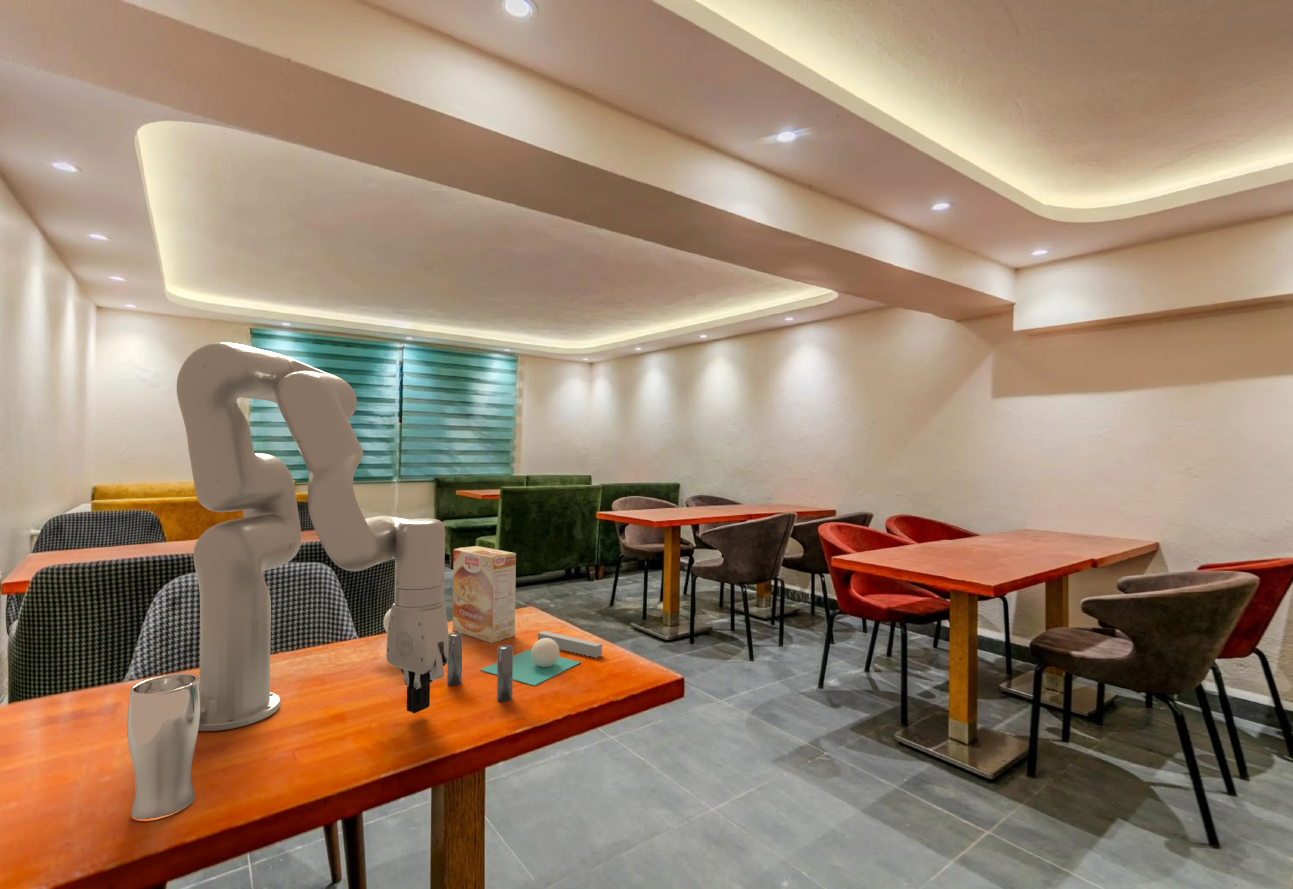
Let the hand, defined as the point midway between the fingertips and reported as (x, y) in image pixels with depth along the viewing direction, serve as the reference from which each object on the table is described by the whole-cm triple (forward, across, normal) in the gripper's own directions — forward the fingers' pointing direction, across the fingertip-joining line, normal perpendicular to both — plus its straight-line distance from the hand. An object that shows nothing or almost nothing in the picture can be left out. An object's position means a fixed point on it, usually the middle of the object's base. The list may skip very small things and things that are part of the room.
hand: (418, 709), depth 97 cm
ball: (-1, +2, +29) cm, 29 cm away
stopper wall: (+2, 0, +39) cm, 39 cm away
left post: (+2, -6, +13) cm, 15 cm away
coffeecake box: (+2, -24, +37) cm, 44 cm away
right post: (+2, +6, +13) cm, 15 cm away
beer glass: (+2, -6, -32) cm, 33 cm away
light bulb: (+2, -26, +16) cm, 31 cm away
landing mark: (+2, 0, +27) cm, 27 cm away
